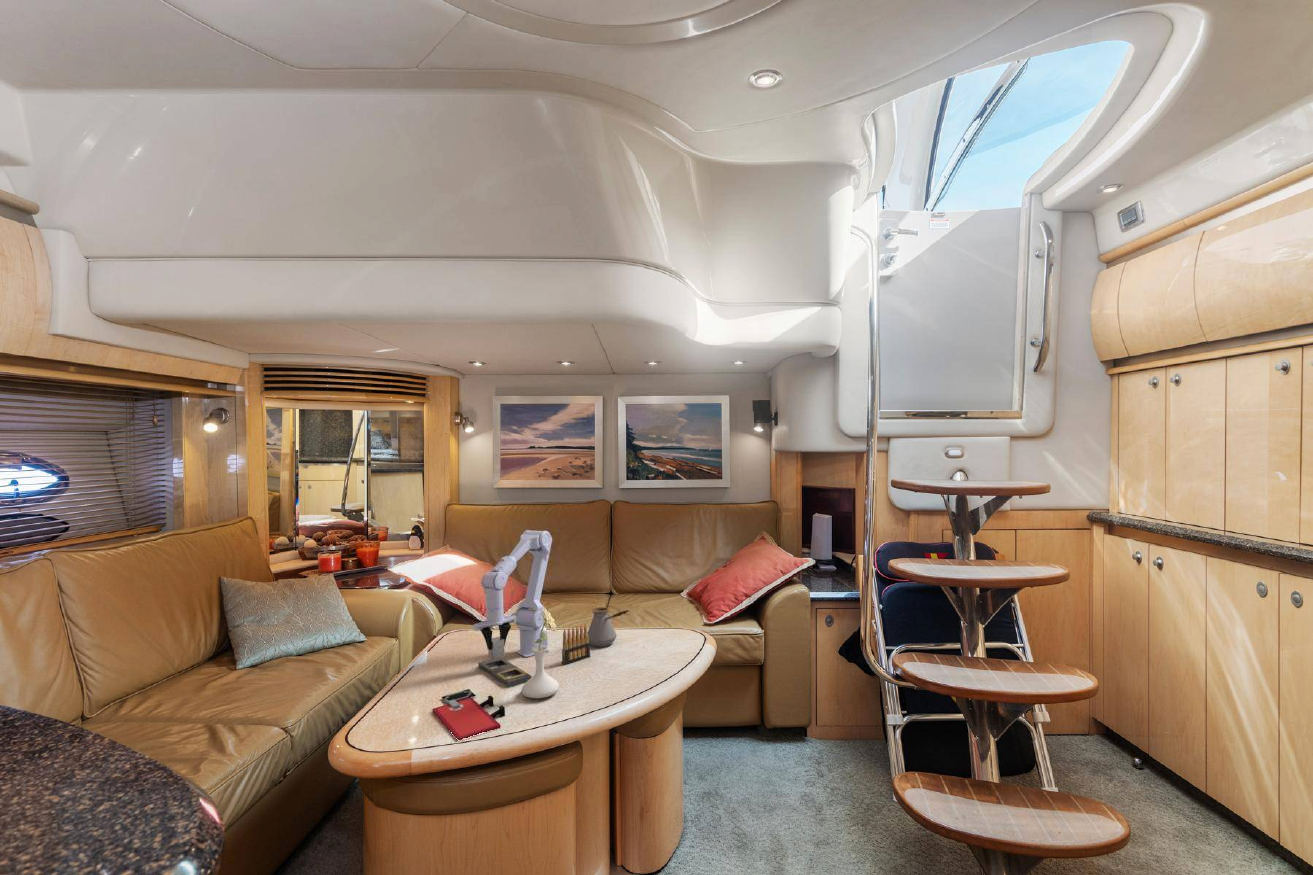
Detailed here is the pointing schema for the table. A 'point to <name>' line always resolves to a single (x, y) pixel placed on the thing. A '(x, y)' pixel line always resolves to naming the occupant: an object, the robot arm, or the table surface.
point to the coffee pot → (602, 627)
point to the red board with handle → (467, 714)
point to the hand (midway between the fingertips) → (496, 647)
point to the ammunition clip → (575, 645)
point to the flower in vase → (541, 667)
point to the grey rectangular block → (496, 648)
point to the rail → (504, 672)
